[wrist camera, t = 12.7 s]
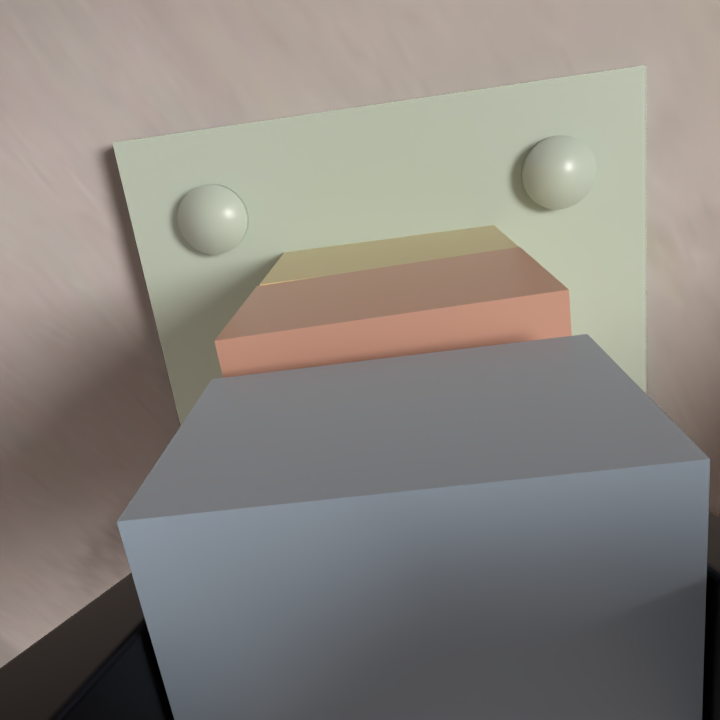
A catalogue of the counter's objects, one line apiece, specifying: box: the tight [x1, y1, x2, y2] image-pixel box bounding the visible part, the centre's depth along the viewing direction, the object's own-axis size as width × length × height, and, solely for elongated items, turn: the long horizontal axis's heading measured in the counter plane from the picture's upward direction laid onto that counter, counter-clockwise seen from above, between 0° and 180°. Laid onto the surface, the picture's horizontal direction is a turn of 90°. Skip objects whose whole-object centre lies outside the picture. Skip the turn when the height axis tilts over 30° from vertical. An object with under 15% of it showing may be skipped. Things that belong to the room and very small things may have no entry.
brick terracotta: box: [214, 247, 572, 378], centre depth 12 cm, size 5×5×4 cm
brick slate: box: [117, 334, 710, 720], centre depth 8 cm, size 5×5×4 cm
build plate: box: [112, 65, 646, 426], centre depth 16 cm, size 12×11×4 cm
